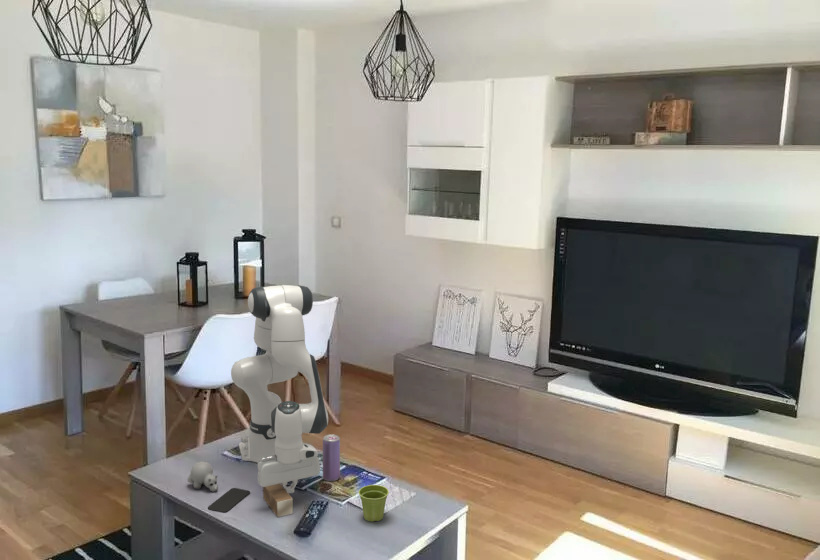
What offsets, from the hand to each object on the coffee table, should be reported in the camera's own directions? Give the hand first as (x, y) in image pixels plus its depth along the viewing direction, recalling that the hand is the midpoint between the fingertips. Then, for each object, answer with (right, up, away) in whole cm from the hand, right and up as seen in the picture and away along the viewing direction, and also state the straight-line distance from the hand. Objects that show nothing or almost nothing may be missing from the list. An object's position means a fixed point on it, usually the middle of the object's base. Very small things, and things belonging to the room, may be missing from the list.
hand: (289, 492), depth 231 cm
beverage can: (+12, -1, +19) cm, 22 cm away
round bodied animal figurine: (-30, -2, +10) cm, 32 cm away
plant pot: (+28, -6, -7) cm, 29 cm away
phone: (-20, -4, +2) cm, 20 cm away
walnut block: (0, -3, -7) cm, 8 cm away
